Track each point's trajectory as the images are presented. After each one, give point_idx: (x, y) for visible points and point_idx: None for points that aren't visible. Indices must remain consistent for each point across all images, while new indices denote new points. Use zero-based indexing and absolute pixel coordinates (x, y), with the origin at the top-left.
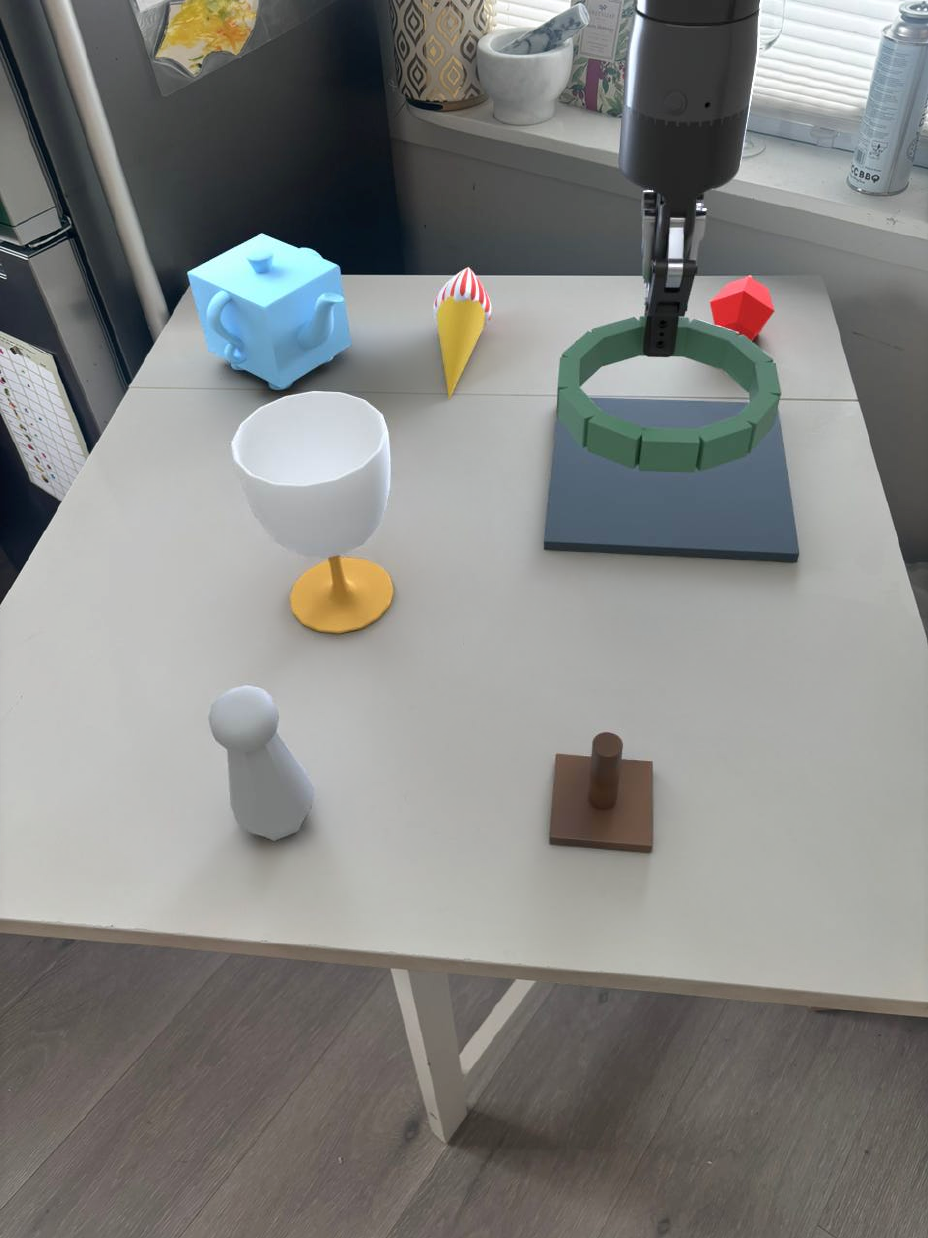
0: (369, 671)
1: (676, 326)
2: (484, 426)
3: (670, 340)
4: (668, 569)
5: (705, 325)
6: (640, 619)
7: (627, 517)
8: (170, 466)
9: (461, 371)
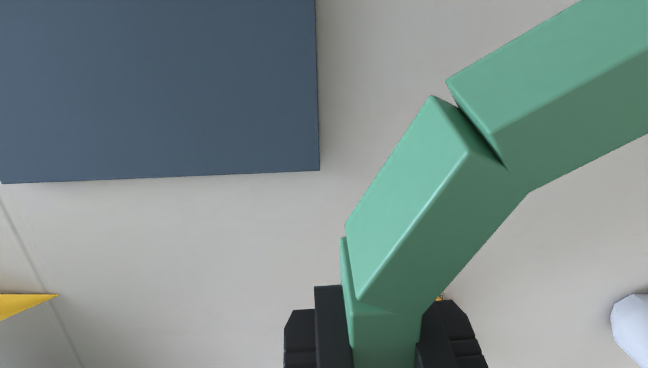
0: (494, 284)
1: (455, 360)
2: (98, 252)
3: (475, 341)
4: (342, 3)
5: (410, 267)
6: (438, 40)
7: (257, 72)
8: None
9: (3, 298)
